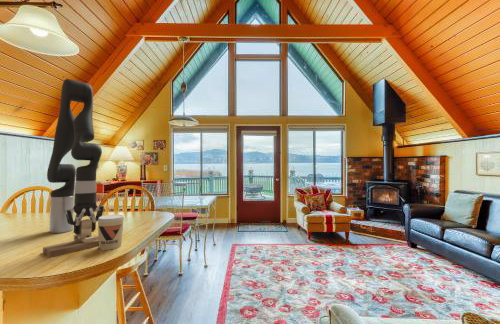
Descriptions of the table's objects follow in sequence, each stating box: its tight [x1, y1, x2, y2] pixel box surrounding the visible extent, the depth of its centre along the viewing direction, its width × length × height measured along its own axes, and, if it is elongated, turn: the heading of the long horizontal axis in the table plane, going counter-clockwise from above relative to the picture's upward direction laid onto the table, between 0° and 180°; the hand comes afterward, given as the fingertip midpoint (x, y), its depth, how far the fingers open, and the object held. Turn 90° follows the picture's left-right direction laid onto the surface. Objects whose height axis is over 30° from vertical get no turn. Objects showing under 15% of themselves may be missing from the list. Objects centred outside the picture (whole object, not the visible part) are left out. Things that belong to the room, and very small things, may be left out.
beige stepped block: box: [73, 218, 95, 243], centre depth 100 cm, size 9×5×10 cm, turn 56°
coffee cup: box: [97, 214, 125, 251], centre depth 99 cm, size 9×9×12 cm
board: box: [42, 235, 99, 258], centre depth 97 cm, size 8×20×2 cm, turn 146°
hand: (84, 232), depth 101 cm, fingers open, 5 cm apart
